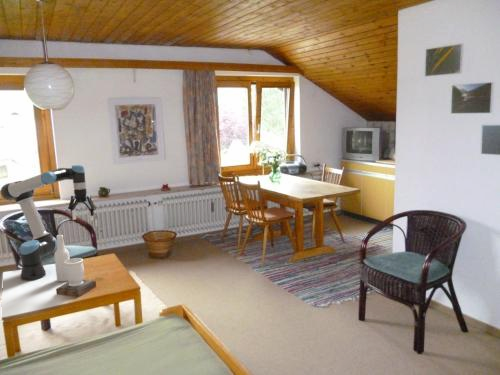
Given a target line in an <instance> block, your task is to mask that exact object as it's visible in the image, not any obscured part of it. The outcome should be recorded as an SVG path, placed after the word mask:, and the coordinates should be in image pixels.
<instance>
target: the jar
mask: <svg viewBox="0 0 500 375" xmlns="http://www.w3.org/2000/svg"><path fill="white" fill-rule="evenodd" d="M83 262H84V259H83V258H81V257H75V258H70V259H69V260H66V261H65V264H66V266H65V273H66V276H67V280H68V281H67V283H68V282H69V286H72V287H74V286H80V285H82V284H83V281H82V280H84V278H85V277H84V276H85V267H84V266H85V265H84V263H83Z"/></svg>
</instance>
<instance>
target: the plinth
mask: <svg viewBox="0 0 500 375" xmlns="http://www.w3.org/2000/svg"><path fill="white" fill-rule="evenodd" d="M82 281H83V284H82V285H80V286H74V287H72V286H69V282H68V281H67V282H66V283H64V284H62V285H60V286H58V287H57V288H55V291H56V295H58V296H68V297H74V298H80V297H82V296H84V295H85V294H87V293H88V292H90V291H91V290H93V289H94V288H95V289H96V287H97V282H96V280H89V279H83V280H82Z"/></svg>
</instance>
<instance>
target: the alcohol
mask: <svg viewBox="0 0 500 375" xmlns="http://www.w3.org/2000/svg"><path fill="white" fill-rule="evenodd" d="M55 238H56V240H57V249H56V250H55V251H54V253H53V254H54V264H55V273H56V280H57V282H59V283H63V282H64V283H65V282H68V280H67V276H66V273H65V266H66V264H65V261H66V260H69V259H71V258H70V252H69V250H68V249H67V248H66V246H65V240H64V235H63V234H57V235H56V237H55Z"/></svg>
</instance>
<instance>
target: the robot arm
mask: <svg viewBox="0 0 500 375" xmlns="http://www.w3.org/2000/svg"><path fill="white" fill-rule="evenodd" d="M85 173H86V171H85V167H84V165H83V164H74V165H71V167H69V168H67V167H58V168H56V169H54V170H46V171H45V172H43V173H40V174H38V175H35V176H33V177H30V178H26V179H25V180H18V181H14V182H10V183H5V184H4V185H2V187H0V196H1V197H2V198H3V199H4V200H6V201H10V202H11V201H15V204H18V205H19V206H20V209H21V211H22V213H23V216H24V218H25V220H26V223H27V226H28V227H29V230H30V231H31V234H32V236H33V238H32V240H28V241H25V242H22V244H20V247H19V248H20V250H19V253H20V258H21V272H20V280H22V281H34V280H39V279H41V278H43V277H46V274H47V273H46V272H47V271H46V269H45V268H44V265H43V264H42V258H43V257H46V256H48V255H52V253H55V251H56V250H57V237H54V236H53V235H51V234H50V232H48V231H47V230H46V227H45V225H44V223H43V220H42V218H41V216H40V214H39V212H38V209H37V206H36V204H35V202H34V198H35V196H34V194H35V190H36V189H38V188H39V189H40V188H42V187H45V186H47V185H51V184H54V183H57V182H61V181H66V180H68V181H69V180H72V182H73V184H72V185H73V189H74V190H73V194H72V195H70V201H69V204H68V207H67V208H68V210H70V214H71V215H72V216H71V217H72V221H74V220H75V221H76V220H77V210H76V207H77V205H79V203H81V204H84V205H85V206H86V208H87V210H89V211H88V214H89V215H88V216H89V221H90V222H92V221H94V215H95V214H94V212H95V210H97V208H96V206H95V203H94V201H93V200H92V197H91V195H88V196H87V184H86V183H87V182H86V174H85Z"/></svg>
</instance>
